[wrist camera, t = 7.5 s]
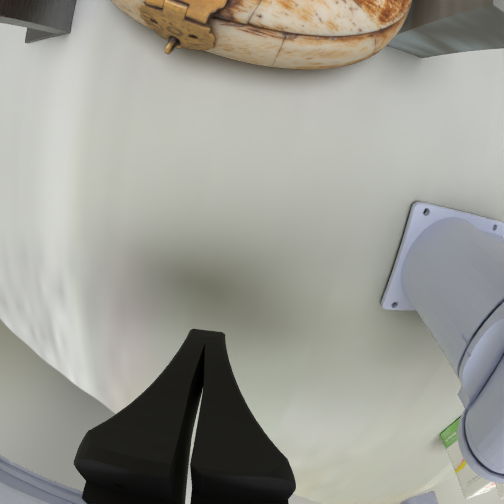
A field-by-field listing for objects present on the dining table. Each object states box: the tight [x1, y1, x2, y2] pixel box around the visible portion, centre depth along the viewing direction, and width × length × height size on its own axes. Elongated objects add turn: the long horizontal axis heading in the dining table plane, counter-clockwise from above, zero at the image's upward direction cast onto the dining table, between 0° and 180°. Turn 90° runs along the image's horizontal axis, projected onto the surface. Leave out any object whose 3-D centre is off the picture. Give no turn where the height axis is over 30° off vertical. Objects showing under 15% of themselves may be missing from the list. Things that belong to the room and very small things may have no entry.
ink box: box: [440, 418, 504, 499], centre depth 25 cm, size 9×5×15 cm, turn 62°
